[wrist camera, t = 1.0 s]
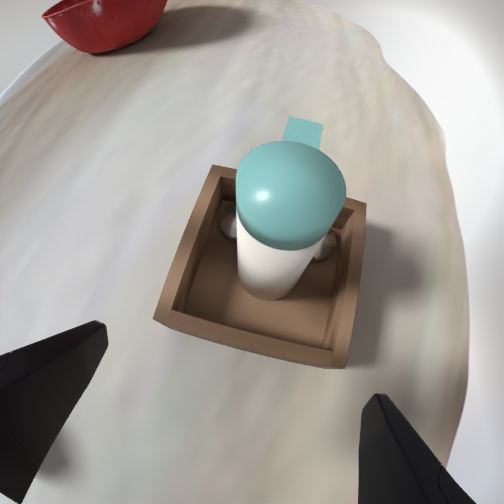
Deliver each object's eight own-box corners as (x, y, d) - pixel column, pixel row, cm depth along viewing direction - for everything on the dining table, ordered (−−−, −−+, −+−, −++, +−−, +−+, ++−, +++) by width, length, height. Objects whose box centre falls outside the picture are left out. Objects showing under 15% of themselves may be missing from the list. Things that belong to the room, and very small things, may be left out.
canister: (290, 307, 22) (340, 244, 11) (230, 291, 22) (220, 213, 11) (306, 232, 24) (350, 131, 13) (252, 218, 25) (261, 109, 14)
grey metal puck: (262, 238, 24) (263, 232, 23) (225, 247, 24) (224, 241, 22) (252, 207, 25) (252, 199, 24) (216, 215, 25) (215, 208, 24)
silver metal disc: (337, 257, 24) (341, 252, 22) (303, 267, 23) (306, 262, 22) (324, 225, 25) (327, 218, 24) (290, 233, 24) (292, 226, 23)
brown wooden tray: (325, 368, 21) (344, 368, 17) (169, 327, 22) (152, 318, 18) (349, 228, 26) (366, 203, 22) (216, 194, 27) (212, 164, 22)
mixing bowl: (52, 92, 35) (24, 30, 21) (68, 44, 45) (54, 0, 31) (195, 40, 40) (189, -30, 26) (170, 9, 50) (165, -38, 36)
